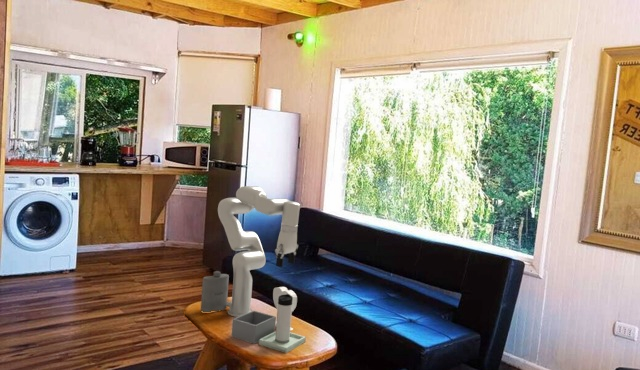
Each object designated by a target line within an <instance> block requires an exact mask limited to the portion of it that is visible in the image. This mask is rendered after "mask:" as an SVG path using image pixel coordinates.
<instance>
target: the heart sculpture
mask: <svg viewBox="0 0 640 370" xmlns="http://www.w3.org/2000/svg"><path fill="white" fill-rule="evenodd" d="M272 290H273V291H272V300H273V305H274V307H275V309H276V310H278V298H279V296H281V295H286V294H290V296H292V297H293V300H292V312H294V310H295V309H296V307H297V303H298V296H297V294H296V293H295V291H293V290H292V289H288V288H287V287H286V286H279V287H274V288H273V289H272ZM276 323H277V320H276ZM276 323H275V326H276ZM293 330H294V328H293V327H290V332H291V331H293Z"/></svg>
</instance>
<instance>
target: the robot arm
mask: <svg viewBox="0 0 640 370" xmlns="http://www.w3.org/2000/svg"><path fill="white" fill-rule="evenodd" d="M254 209H255V210H256V212H258V213H261V214H264V215H267V216H277V215H278V216H279V215H280V216H281V217H282V218H281V225H280V231H279V235H278V239H277V242H276V248H275V249H274V253H275V257H276V260H275V261H276V264H275V266H276V267H280V268H283V265H284V256H285V255H287V254H288V260H287V262H288V263H289V264H295V262H296V261H295V260H296V255H297V251H298V248H299V244H298V243H297V242H298V227H299V225H298V224H299V217H300V209H301V204H300V203H299V202H297V201H292V200H289V199H288V198H268V196H267V193H266V192H264V190H263V189H262V187H260V186H257V185H254V186H253V185H252V186H251V185H249V186H247V185H245V186H240V187H239V188H238V189H237V190H236V192H235V197H227V198H223V199H221V200H220V201H219V203H218V207H217V213H218V218H219V220H220V223H221V224H222V226H223V228H224V231H225V235H226V237H227V240H228V243H229V246H230V248H231V250H233V251H235V252H237V253H236V254H234V256H233V258H232V268H233V270H232V271H233V276H232V277H233V281H232V293H231V295H232V297H231V301H228V300H227V304H226V306H227V307H228V310H227V313H228V315H229V316H232V317H235V318H237V317H239V316H241V315H244V314H246V313H249V312H251V311H254V309H251V306H252V304H251V303H252V291H253V276H252V274H251V272H250V271H251V270H259V269H261V268H263V267H264V266H265V265H266V261H267V259H266V255H265V251H264V249H263V245H262V243H261V240H260V238H259V236H258V234H257V233H256V232H255V231H251V230H246V231H245V230H243V226H242V224H241V222H240V220H239V219H238V218H237V217H236V216H234V215H241V214H243V215H244V214H248V213H250V212H252V210H254ZM239 251H240V252H239Z"/></svg>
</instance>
